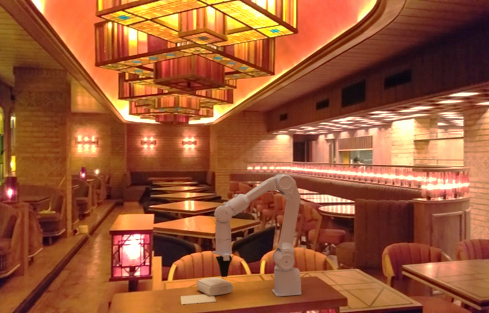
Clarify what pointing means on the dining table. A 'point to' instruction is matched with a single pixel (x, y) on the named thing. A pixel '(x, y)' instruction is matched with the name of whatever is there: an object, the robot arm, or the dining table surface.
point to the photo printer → (214, 286)
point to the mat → (197, 299)
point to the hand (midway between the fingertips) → (224, 276)
